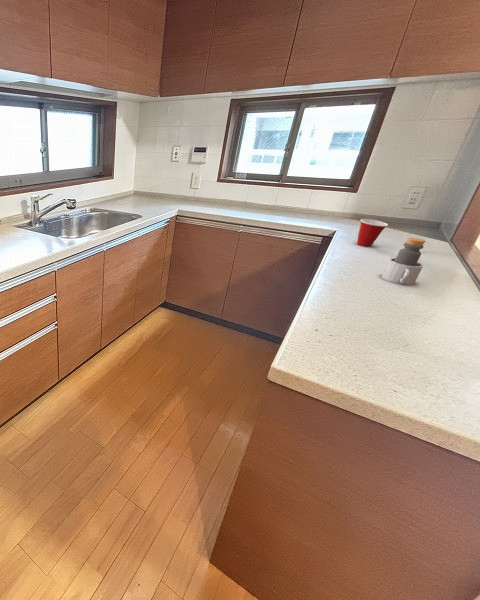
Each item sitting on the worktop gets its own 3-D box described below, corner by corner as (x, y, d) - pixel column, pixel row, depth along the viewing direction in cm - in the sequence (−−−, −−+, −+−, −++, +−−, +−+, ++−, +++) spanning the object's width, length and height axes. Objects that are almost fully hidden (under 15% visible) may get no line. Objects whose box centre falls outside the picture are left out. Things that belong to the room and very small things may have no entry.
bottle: (407, 282, 118) (428, 242, 111) (386, 278, 121) (405, 239, 114) (407, 278, 121) (427, 239, 115) (387, 274, 125) (405, 236, 118)
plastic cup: (370, 249, 156) (381, 224, 151) (346, 243, 165) (355, 219, 159) (382, 247, 160) (394, 222, 155) (358, 241, 169) (368, 218, 163)
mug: (380, 273, 127) (388, 256, 124) (411, 279, 122) (420, 261, 119) (384, 283, 118) (392, 265, 115) (418, 290, 113) (428, 271, 110)
